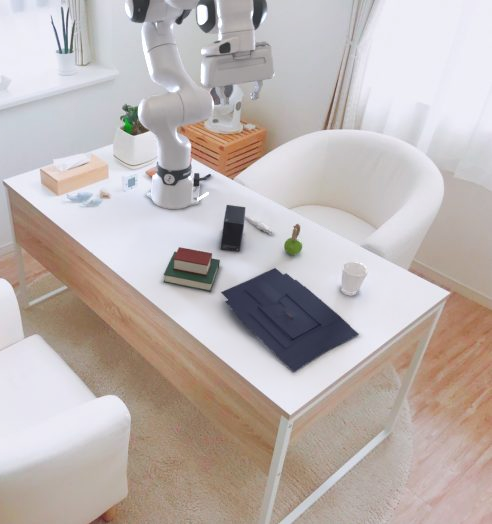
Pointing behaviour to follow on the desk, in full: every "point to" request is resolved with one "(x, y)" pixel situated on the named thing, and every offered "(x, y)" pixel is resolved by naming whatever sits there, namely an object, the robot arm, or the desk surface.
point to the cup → (352, 277)
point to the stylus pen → (259, 225)
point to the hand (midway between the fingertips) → (240, 102)
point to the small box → (233, 228)
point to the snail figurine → (293, 242)
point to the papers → (288, 317)
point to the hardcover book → (191, 276)
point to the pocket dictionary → (192, 261)
